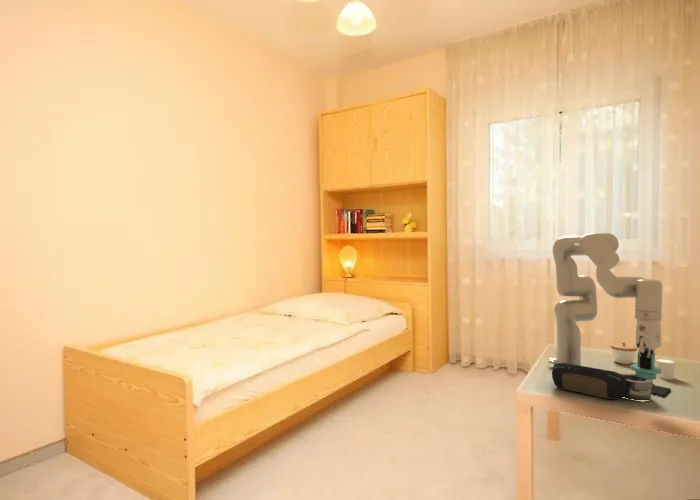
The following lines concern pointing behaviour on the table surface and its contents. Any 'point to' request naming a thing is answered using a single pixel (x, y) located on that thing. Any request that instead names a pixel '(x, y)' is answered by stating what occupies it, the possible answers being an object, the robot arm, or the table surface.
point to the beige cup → (665, 368)
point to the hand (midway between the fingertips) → (646, 367)
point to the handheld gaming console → (660, 390)
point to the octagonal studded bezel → (637, 387)
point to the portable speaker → (589, 380)
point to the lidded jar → (624, 353)
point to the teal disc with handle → (645, 372)
